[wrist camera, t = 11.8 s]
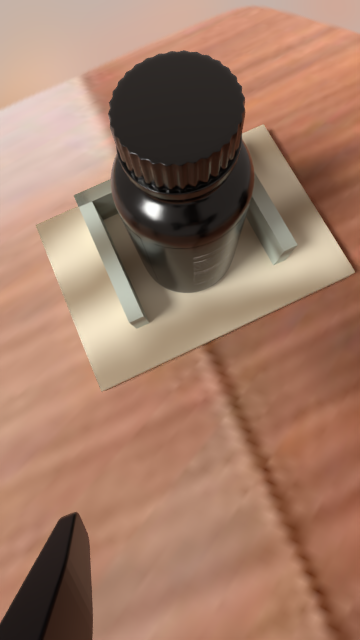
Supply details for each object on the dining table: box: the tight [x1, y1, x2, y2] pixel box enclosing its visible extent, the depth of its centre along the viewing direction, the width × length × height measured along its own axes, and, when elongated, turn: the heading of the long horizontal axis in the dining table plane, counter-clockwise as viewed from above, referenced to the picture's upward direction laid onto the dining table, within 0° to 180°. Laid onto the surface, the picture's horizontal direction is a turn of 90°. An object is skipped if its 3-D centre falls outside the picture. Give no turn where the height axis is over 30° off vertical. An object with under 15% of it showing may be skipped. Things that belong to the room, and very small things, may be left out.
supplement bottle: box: [108, 51, 255, 293], centre depth 16 cm, size 7×7×12 cm
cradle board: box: [36, 124, 355, 392], centre depth 21 cm, size 14×20×4 cm
